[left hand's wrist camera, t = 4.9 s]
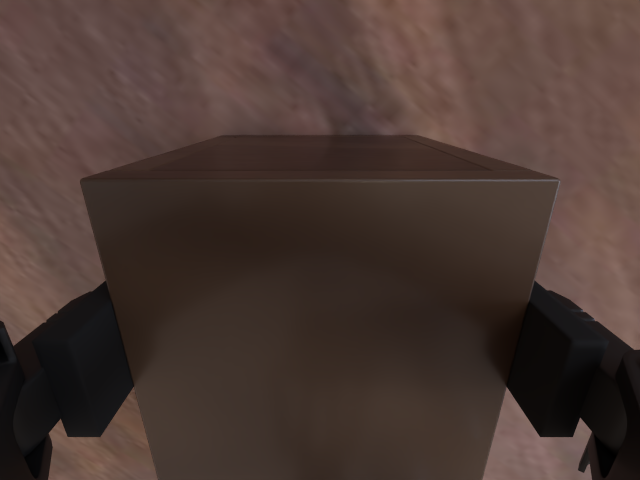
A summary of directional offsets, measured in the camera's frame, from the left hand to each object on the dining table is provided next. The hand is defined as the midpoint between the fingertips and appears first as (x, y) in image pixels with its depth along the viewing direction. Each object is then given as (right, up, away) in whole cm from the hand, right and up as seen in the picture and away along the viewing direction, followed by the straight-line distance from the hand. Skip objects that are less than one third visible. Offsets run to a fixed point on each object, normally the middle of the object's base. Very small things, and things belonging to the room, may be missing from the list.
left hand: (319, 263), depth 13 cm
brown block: (0, -3, +8) cm, 9 cm away
